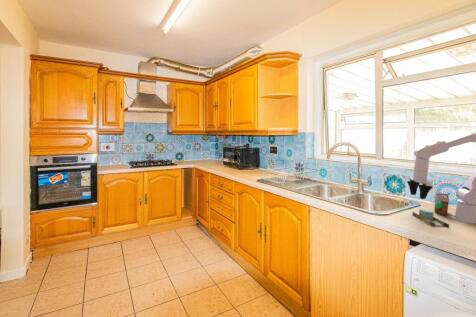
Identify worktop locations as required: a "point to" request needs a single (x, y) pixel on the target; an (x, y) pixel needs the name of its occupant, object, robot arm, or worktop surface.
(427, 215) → the teal block
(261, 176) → the worktop surface
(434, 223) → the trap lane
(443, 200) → the food container
